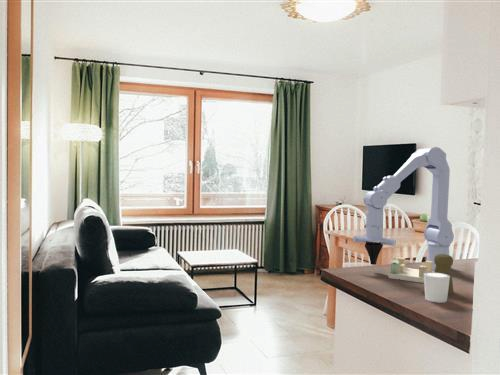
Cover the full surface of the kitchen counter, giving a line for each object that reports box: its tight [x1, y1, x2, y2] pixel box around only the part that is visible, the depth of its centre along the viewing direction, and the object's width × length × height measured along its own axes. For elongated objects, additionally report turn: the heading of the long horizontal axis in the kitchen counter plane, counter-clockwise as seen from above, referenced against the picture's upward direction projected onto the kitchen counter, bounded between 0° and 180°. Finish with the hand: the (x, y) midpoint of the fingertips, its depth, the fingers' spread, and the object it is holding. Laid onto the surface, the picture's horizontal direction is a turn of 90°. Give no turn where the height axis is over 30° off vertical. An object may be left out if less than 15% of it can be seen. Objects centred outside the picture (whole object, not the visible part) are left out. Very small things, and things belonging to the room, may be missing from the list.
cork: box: [434, 254, 454, 295], centre depth 135 cm, size 6×6×11 cm
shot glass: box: [423, 271, 450, 304], centre depth 126 cm, size 7×7×7 cm
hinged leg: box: [390, 259, 399, 273], centre depth 154 cm, size 9×2×3 cm, turn 159°
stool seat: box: [388, 257, 435, 284], centre depth 152 cm, size 12×12×5 cm
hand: (373, 264), depth 159 cm, fingers closed
